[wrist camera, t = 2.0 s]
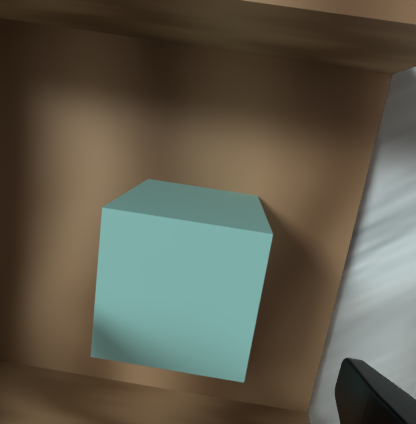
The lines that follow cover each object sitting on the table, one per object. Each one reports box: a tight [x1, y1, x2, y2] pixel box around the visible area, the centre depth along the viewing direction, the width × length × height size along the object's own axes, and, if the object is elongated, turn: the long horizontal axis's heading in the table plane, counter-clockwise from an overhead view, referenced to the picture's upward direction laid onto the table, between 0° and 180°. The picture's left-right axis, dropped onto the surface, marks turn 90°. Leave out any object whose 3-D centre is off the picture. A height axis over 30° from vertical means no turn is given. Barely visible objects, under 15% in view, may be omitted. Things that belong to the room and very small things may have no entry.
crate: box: [0, 0, 416, 424], centre depth 14 cm, size 20×19×7 cm
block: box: [91, 179, 273, 383], centre depth 14 cm, size 5×5×6 cm
